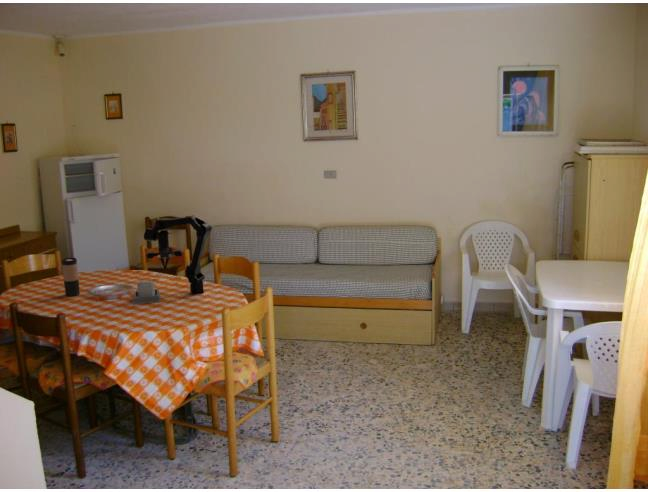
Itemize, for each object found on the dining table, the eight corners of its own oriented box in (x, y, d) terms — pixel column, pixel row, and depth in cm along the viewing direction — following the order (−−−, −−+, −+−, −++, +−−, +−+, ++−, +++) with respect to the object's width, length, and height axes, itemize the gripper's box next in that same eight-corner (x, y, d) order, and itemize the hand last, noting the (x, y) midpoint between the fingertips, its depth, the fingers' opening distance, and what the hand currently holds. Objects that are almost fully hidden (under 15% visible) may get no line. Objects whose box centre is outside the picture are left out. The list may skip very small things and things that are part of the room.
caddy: (159, 293, 363) (159, 288, 362) (160, 301, 348) (160, 296, 347) (133, 295, 359) (132, 290, 359) (133, 304, 344) (132, 298, 344)
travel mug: (62, 295, 362) (58, 260, 357) (73, 292, 368) (69, 257, 364) (72, 297, 358) (68, 261, 354) (83, 293, 365) (79, 258, 360)
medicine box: (155, 296, 355) (154, 280, 353) (152, 299, 351) (151, 283, 349) (141, 296, 356) (139, 280, 354) (138, 299, 351) (136, 283, 350)
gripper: (145, 245, 353) (148, 274, 357) (181, 243, 358) (183, 271, 362) (145, 241, 364) (147, 269, 367) (180, 239, 369) (182, 266, 372)
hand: (165, 268), depth 367 cm, fingers closed
